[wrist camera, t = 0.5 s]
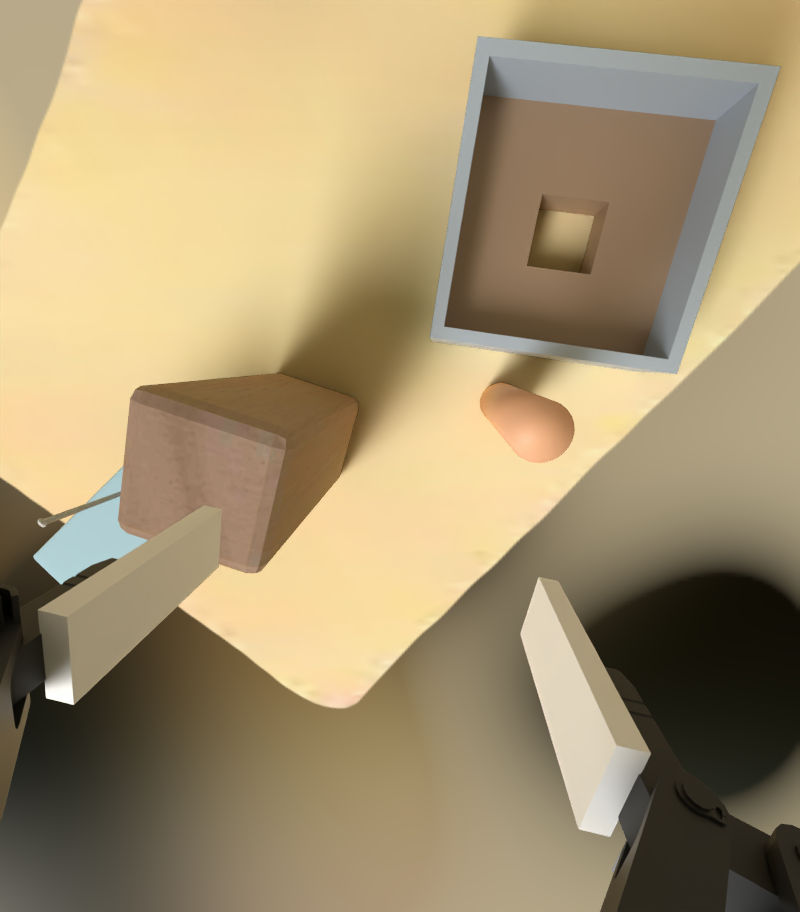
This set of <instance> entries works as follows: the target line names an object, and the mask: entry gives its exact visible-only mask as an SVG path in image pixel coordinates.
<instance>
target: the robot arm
mask: <svg viewBox="0 0 800 912" xmlns="http://www.w3.org/2000/svg"><path fill="white" fill-rule="evenodd" d="M221 516H222V509H219V508H215V507H210V506H205V505H204V506H202V507H201V508H199V509H197V510H196V511H194V512H193V513H191V514H189V515H188V516H186V517H185V518H183V519H182V520H180V521H178V522H177V523H175V524H174V525H172V526H170V527H169V528H167V529H166V530H164V531H162V532H161V533H159V534H158V535H156V536H154V537H153V538H151V539H150V540H148V541H147V542H145V543H143V544H142V545H140V546H139V547H137V548H135V549H134V550H132V551H131V552H129V553H127V554H126V555H124V556H123V557H121V558H119V559H115V558H110V559H107V560H104V561H102V562H99V563H96V564H93V565H91V566H89V567H88V568H86V569H84V570H83V571H81V572H79V573H78V574H76V576H75V577H74V576H73V577H71V578H69V579H68V580H66V581H64V582H63V584H62V585H60V584H59V585H58V586H56V587H54V588H53V589H51V590H49V591H48V592H46V593H44V594H43V595H41V596H39V597H38V598H36V599H34V600H32V601H31V602H29V603H27V604H26V605H24V606H22V607H21V608H20V607H19V598H18V590H17V589H16V588H14V587H12V586H9V585H2V584H0V824H1V820H2V815H3V812H4V808H5V803H6V799H7V795H8V791H9V787H10V783H11V779H12V775H13V771H14V767H15V763H16V759H17V755H18V751H19V747H20V742H21V739H22V734H23V730H24V727H25V722H26V718H27V714H28V710H29V706H30V694H29V693H30V692H31V691H32V690H33V689H34V688H36V687H37V686H38V685H39V684H40V683H42V682H43V681H44V680H45V690H46V698H48V699H52V700H57V701H61V702H64V703H69V704H73V705H74V704H75V703H76V702H77V701H78V700H79V699H80V698H81V697H82V696H84V695H85V694H86V693H87V692H88V691H89V690H90V689H91V688H92V687H93V686H94V685H95V684H96V683H97V682H98V681H99V680H100V679H101V678H102V677H103V676H104V675H106V674H107V673H108V672H109V671H110V670H111V669H112V668H113V667H114V666H115V665H116V664H117V663H118V662H119V661H120V660H121V659H122V658H123V657H124V656H126V655H127V654H128V653H129V652H130V651H131V650H132V649H133V648H134V647H135V646H136V645H137V644H138V643H139V642H140V641H141V640H142V639H143V638H144V637H145V636H147V635H148V634H149V633H150V632H151V631H152V630H153V629H154V628H155V627H156V626H157V625H158V624H159V623H160V622H161V621H162V620H163V619H164V618H166V616H168V615H169V614H170V613H171V612H172V611H173V610H174V609H175V608H176V607H177V606H178V605H179V604H180V603H181V602H182V601H183V600H184V599H185V598H187V597H188V596H189V595H190V594H191V593H192V592H193V591H194V590H195V589H196V588H197V587H198V586H199V585H200V584H201V583H202V582H203V581H204V580H205V579H207V578H208V577H209V576H210V575H211V574H212V573H213V572H214V571H215V570H216V569H217V568H218V567H219V552H220V534H221ZM521 638H522V641H523V645H524V648H525V651H526V655H527V658H528V661H529V665H530V668H531V671H532V675H533V678H534V682H535V685H536V688H537V691H538V695H539V698H540V701H541V705H542V708H543V712H544V715H545V718H546V721H547V725H548V728H549V731H550V735H551V738H552V742H553V745H554V748H555V752H556V755H557V759H558V762H559V765H560V768H561V772H562V775H563V779H564V782H565V785H566V788H567V791H568V795H569V799H570V802H571V805H572V809H573V812H574V815H575V819H576V822H577V825H578V829H581V830H584V831H589V832H593V833H597V834H601V835H605V836H609V837H610V836H611V834H612V832H613V830H614V828H615V826H616V824H617V822H618V820H619V821H620V824H621V826H622V829H623V831H624V834H625V837H626V839H627V841H626V843H625V845H624V847H623V849H622V851H621V853H620V855H619V857H618V859H617V860H616V862H615V864H614V867H613V868H612V871H613V872H614V874H613V877H612V880H611V883H610V885H609V888H608V891H607V894H606V897H605V899H604V902H603V905H602V908H601V911H600V912H800V829H799V828H797V827H795V826H793V825H786V824H780V825H779V826H778V827H777V828H776V829H775V830H774V832H773V833H772V835H771V836H770V835H768V834H765V833H764V832H762V831H760V830H758V829H756V828H754V827H752V826H750V825H749V824H747V823H745V822H743V821H741V820H739V819H737V818H735V817H733V816H732V815H730V814H729V813H728V811H727V809H726V808H725V806H724V804H723V803H722V802H721V801H720V799H719V798H718V797H717V796H716V795H715V793H714V792H713V791H712V790H710V789H709V788H708V787H707V786H706V785H705V784H704V783H703V782H701V781H700V780H699V779H697V778H696V777H694V776H692V775H691V774H689V773H688V772H686V771H684V770H683V768H682V766H681V765H680V763H679V761H678V760H677V758H676V756H675V755H674V753H673V751H672V750H671V748H670V746H669V745H668V743H667V741H666V739H665V738H664V736H663V734H662V733H661V731H660V729H659V728H658V726H657V724H656V723H655V721H654V720H653V719H651V714H650V713H649V711H648V709H647V708H646V706H645V705H643V701H642V699H641V698H640V696H639V694H638V693H637V691H636V689H635V688H634V686H633V685H632V684H631V683H630V682H629V681H628V680H627V679H626V678H625V677H624V676H623V675H622V674H621V672H620V671H618V670H615V669H610V668H606V667H604V666H603V664H602V662H601V660H600V658H599V656H598V654H597V652H596V651H595V649H594V647H593V645H592V643H591V641H590V640H589V638H588V636H587V634H586V632H585V630H584V628H583V626H582V625H581V623H580V621H579V619H578V617H577V615H576V614H575V612H574V610H573V608H572V606H571V604H570V602H569V600H568V599H567V597H566V595H565V593H564V591H563V589H562V587H561V586H560V584H559V582H558V581H555V580H550V579H545V578H541V577H539V578H538V581H537V584H536V587H535V590H534V594H533V597H532V600H531V603H530V606H529V609H528V612H527V615H526V618H525V621H524V624H523V627H522V630H521Z"/></svg>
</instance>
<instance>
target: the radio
mask: <svg viewBox="0 0 800 912" xmlns="http://www.w3.org/2000/svg"><path fill="white" fill-rule="evenodd" d="M122 475H123V467H122V468H121V469H120V470H119V471H118V472H117V473H116V474H115V475H114V476H113V477H112V478H111V479H110V480H109V481H108V482H107V483H106V484H105V485H104V486H103V487H102V488H101V489H100V490H99V491H98V492H97V493H96V494H95V495H94V496H93V497H92V498H91V499H90V500H89V501H88V502H87V503H86V504H84V505H81V506H78V507H76V508H73V509H70V510H67V511H65V512H62V513H59V514H56V515H54V516H51V517H48V518H45V519H38V524H39V525H40V526H41V527H46V525H47V524H49V523H51V522H54V521H57V520H59V519H62V518H65V517H67V516H70V515H72V514H75V513H76V514H75V515H74V516H73V517H72V518H71V519H70V520H69V521H68V522H67V523H66V524H65V525H64V526H63V527H62V528H61V529H60V530H59V531H58V532H57V533H56V534H55V535H54V536H53V537H52V538H51V539H50V540H49V541H48V542H47V543H46V544H45V545H44V546H43V547H42V548H41V549H40V550H39V551H38V552H37V553H36V554H35V555H34V559H35V560H36V561H37V562H38V563H39V564H40V565H41V566H42V567H43V568H44V569H45V570H47V571H48V572H49V573H50V574H51V575H52V576H53V577H54V578H55V579H56V580H57V581H58V582H59V583H61V585H62V584H63V582H64V581H66V580H68V579H69V578H71V577H73V576H74V577H75V576H76V574H78V573H79V572H81V571H83V570H84V569H86V568H88V567H89V566H91V565H93V564H96V563H99V562H102V561H104V560H107V559H110V558H115V559H119V558H121V557H123V556H124V555H126V554H127V553H129V552H131V551H132V550H134V549H135V548H137V547H139V546H140V545H142V544H143V543H145V542H147V541H148V540H146V539H143V538H140V537H137V536H134V535H131V534H128V533H126V532H125V531H124V530H123V529H122V528H121V527H120V525H119V522H118V514H119V504H120V494H121V485H122Z"/></svg>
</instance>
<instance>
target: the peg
mask: <svg viewBox="0 0 800 912" xmlns="http://www.w3.org/2000/svg"><path fill="white" fill-rule="evenodd" d="M480 407H481V410H482V412H483V414H484V415H485V417H486V418H487V419H488V420H489V421H490V423H491V424H492V425H493V426H494V427H495V429H496V430H497V431H498V432H499V434H500V435H501V436H502V437H503V438H504V440H505V441H506V442H507V443H508V445H509V446H510V447H511V448H512V449H513V451H514V452H515V453H516V454H517V455H518V456H519V457H521V458H523V459H524V460H527V461H530V462H536V463H542V462H548V461H551V460H553V459H555V458H557V457H559V456H560V455H562V454H563V453H564V452H565V451H566V450H567V448H568V447H569V445H570V444H571V442H572V439H573V436H574V422H573V418H572V416H571V414H570V413H569V411H568V410H567V409H566V408H565V407H564V406H563V405H561V404H559V403H558V402H555V401H552V400H550V399H547V398H544V397H541V396H539V395H536V394H533V393H530V392H528V391H525V390H522V389H520V388H517V387H514V386H511V385H509V384H506V383H496V384H493V385H491V386H489V387H488V388H487V389H486V390H485V391H484V392H483V394H482V396H481V399H480Z"/></svg>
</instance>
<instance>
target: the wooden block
mask: <svg viewBox="0 0 800 912" xmlns="http://www.w3.org/2000/svg"><path fill="white" fill-rule="evenodd" d="M357 412H358V401H356V400H355V399H354V398H353V397H351V396H348V395H345V394H342V393H339V392H336V391H333V390H330V389H327V388H324V387H321V386H318V385H314V384H311V383H308V382H305V381H302V380H299V379H296V378H293V377H290V376H287V375H284V374H281V373H277V374H266V375H255V376H244V377H233V378H222V379H211V380H201V381H190V382H179V383H168V384H157V385H146V386H140V387H139V388H137V389H135V391H134V393H133V395H132V397H131V398H130V407H129V416H128V426H127V436H126V446H125V455H124V465H123V475H122V485H121V494H120V504H119V514H118V522H119V525H120V527H121V528H122V529H123V530H124V531H125V532H126V533H128V534H131V535H134V536H137V537H140V538H143V539H146V540H150V539H151V538H153V537H154V536H156V535H158V534H159V533H161V532H162V531H164V530H166V529H167V528H169V527H170V526H172V525H174V524H175V523H177V522H178V521H180V520H182V519H183V518H185V517H186V516H188V515H189V514H191V513H193V512H194V511H196V510H197V509H199V508H201V507H202V506H204V505H205V506H210V507H215V508H219V509H222V516H221V534H220V552H219V564H221V565H223V566H226V567H229V568H232V569H235V570H238V571H241V572H244V573H257V572H259V571H261V570H262V569H263V568H264V567H265V566H266V564H267V563H268V562H269V561H270V560H271V558H272V557H273V556H274V555H275V554H276V552H277V551H278V550H279V549H280V548H281V546H282V545H283V544H284V543H285V542H286V540H287V539H288V538H289V537H290V536H291V534H292V533H293V532H294V531H295V530H296V528H297V527H298V526H299V525H300V524H301V522H302V521H303V520H304V519H305V518H306V516H307V515H308V514H309V513H310V512H311V510H312V509H313V508H314V507H315V506H316V504H317V503H318V502H319V501H320V500H321V498H322V497H323V496H324V495H325V494H326V493H327V491H328V490H329V489H330V488H331V487H332V485H333V484H334V483H335V482H336V481H337V479H338V478H339V477H340V473H341V469H342V466H343V462H344V459H345V455H346V452H347V448H348V444H349V441H350V437H351V434H352V430H353V426H354V423H355V419H356V416H357Z"/></svg>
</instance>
